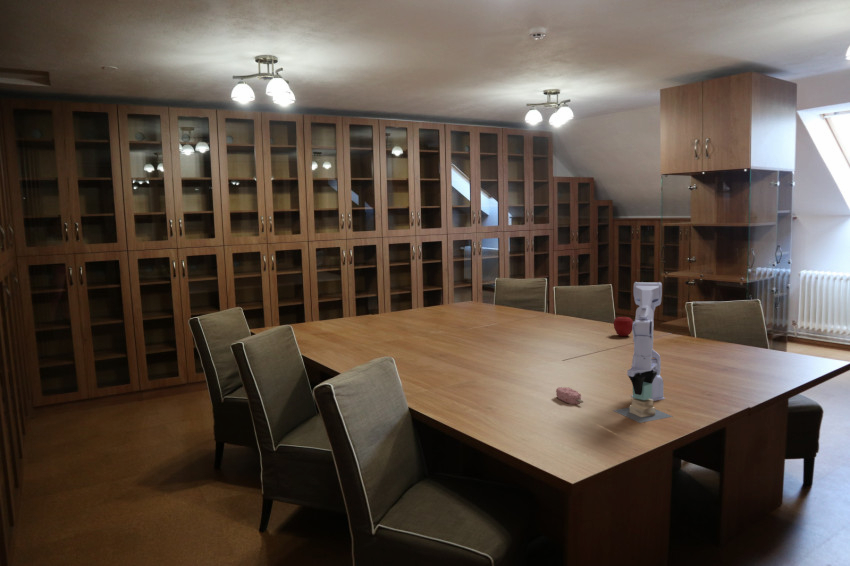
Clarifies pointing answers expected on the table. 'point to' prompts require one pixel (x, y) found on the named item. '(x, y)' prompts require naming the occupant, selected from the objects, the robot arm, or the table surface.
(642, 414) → the tower base
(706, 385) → the table surface
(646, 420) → the felt mat
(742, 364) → the table surface
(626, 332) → the apple
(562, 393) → the ice cream bar
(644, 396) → the teal block
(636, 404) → the tower mid
